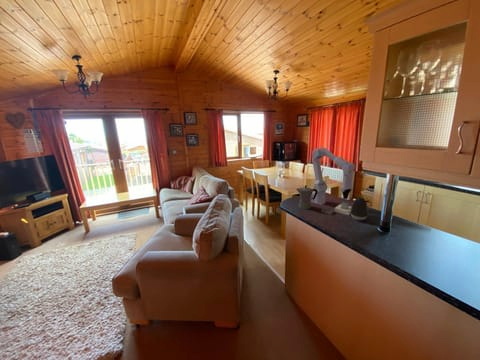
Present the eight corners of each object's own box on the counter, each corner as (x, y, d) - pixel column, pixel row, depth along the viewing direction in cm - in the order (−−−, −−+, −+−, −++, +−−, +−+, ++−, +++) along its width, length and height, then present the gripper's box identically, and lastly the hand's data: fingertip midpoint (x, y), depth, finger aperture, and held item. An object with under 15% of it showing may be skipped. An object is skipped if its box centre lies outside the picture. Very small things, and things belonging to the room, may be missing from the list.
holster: (320, 212, 147) (320, 209, 146) (324, 209, 151) (324, 206, 150) (331, 215, 141) (331, 212, 141) (335, 212, 145) (335, 209, 144)
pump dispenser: (363, 223, 128) (366, 201, 124) (346, 218, 136) (349, 197, 132) (370, 218, 134) (373, 197, 130) (354, 213, 142) (356, 193, 138)
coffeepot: (295, 209, 154) (295, 186, 150) (296, 204, 163) (297, 183, 158) (316, 211, 149) (318, 188, 144) (316, 206, 158) (318, 184, 153)
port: (334, 211, 146) (334, 207, 146) (339, 207, 153) (340, 203, 152) (349, 215, 139) (349, 211, 138) (354, 211, 146) (354, 207, 145)
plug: (340, 211, 146) (341, 202, 144) (342, 210, 148) (343, 200, 146) (346, 213, 144) (347, 203, 142) (347, 211, 146) (348, 201, 144)
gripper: (349, 183, 133) (347, 203, 136) (357, 179, 142) (355, 197, 146) (338, 181, 138) (336, 200, 141) (346, 177, 147) (344, 195, 151)
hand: (345, 198), depth 144 cm, fingers closed
